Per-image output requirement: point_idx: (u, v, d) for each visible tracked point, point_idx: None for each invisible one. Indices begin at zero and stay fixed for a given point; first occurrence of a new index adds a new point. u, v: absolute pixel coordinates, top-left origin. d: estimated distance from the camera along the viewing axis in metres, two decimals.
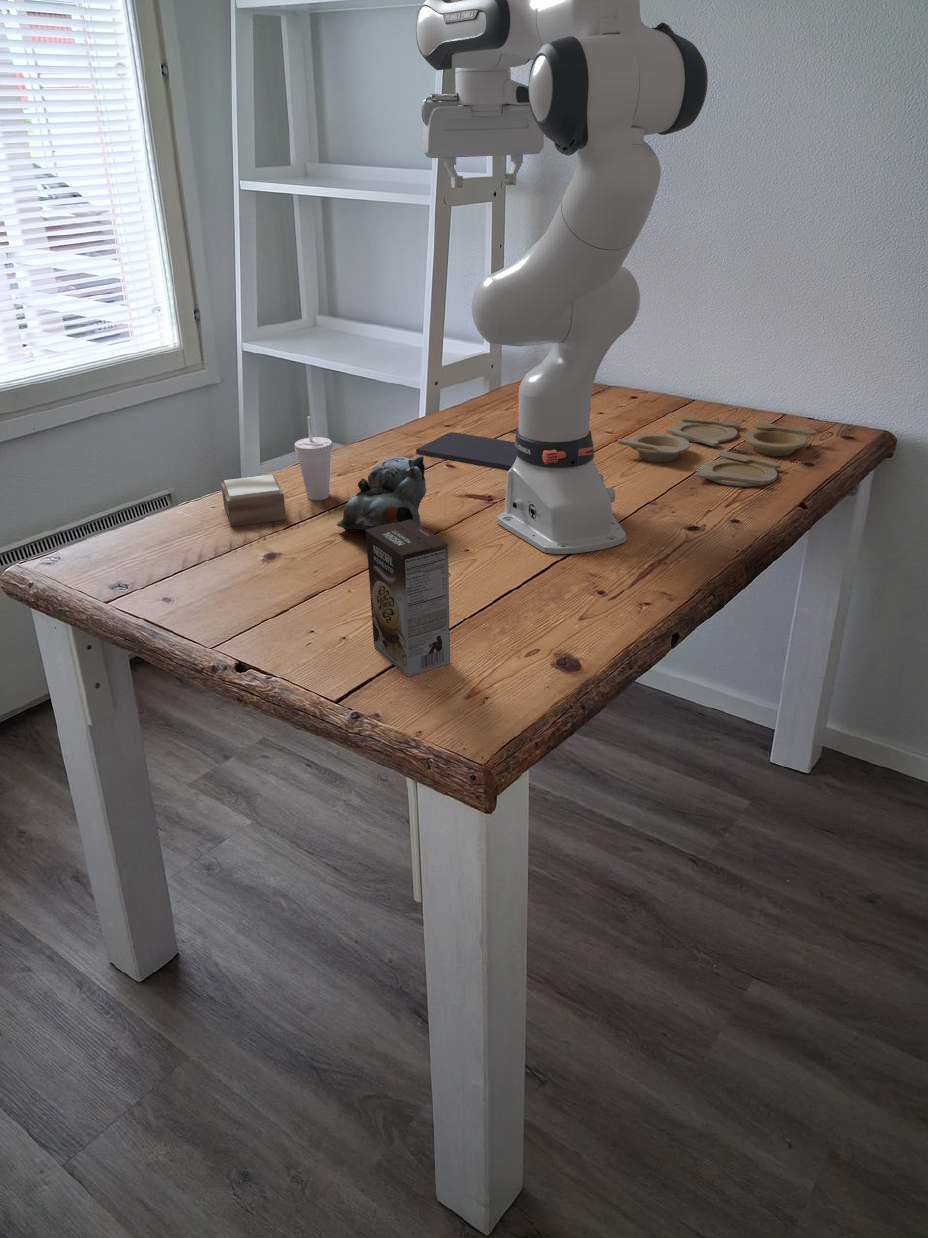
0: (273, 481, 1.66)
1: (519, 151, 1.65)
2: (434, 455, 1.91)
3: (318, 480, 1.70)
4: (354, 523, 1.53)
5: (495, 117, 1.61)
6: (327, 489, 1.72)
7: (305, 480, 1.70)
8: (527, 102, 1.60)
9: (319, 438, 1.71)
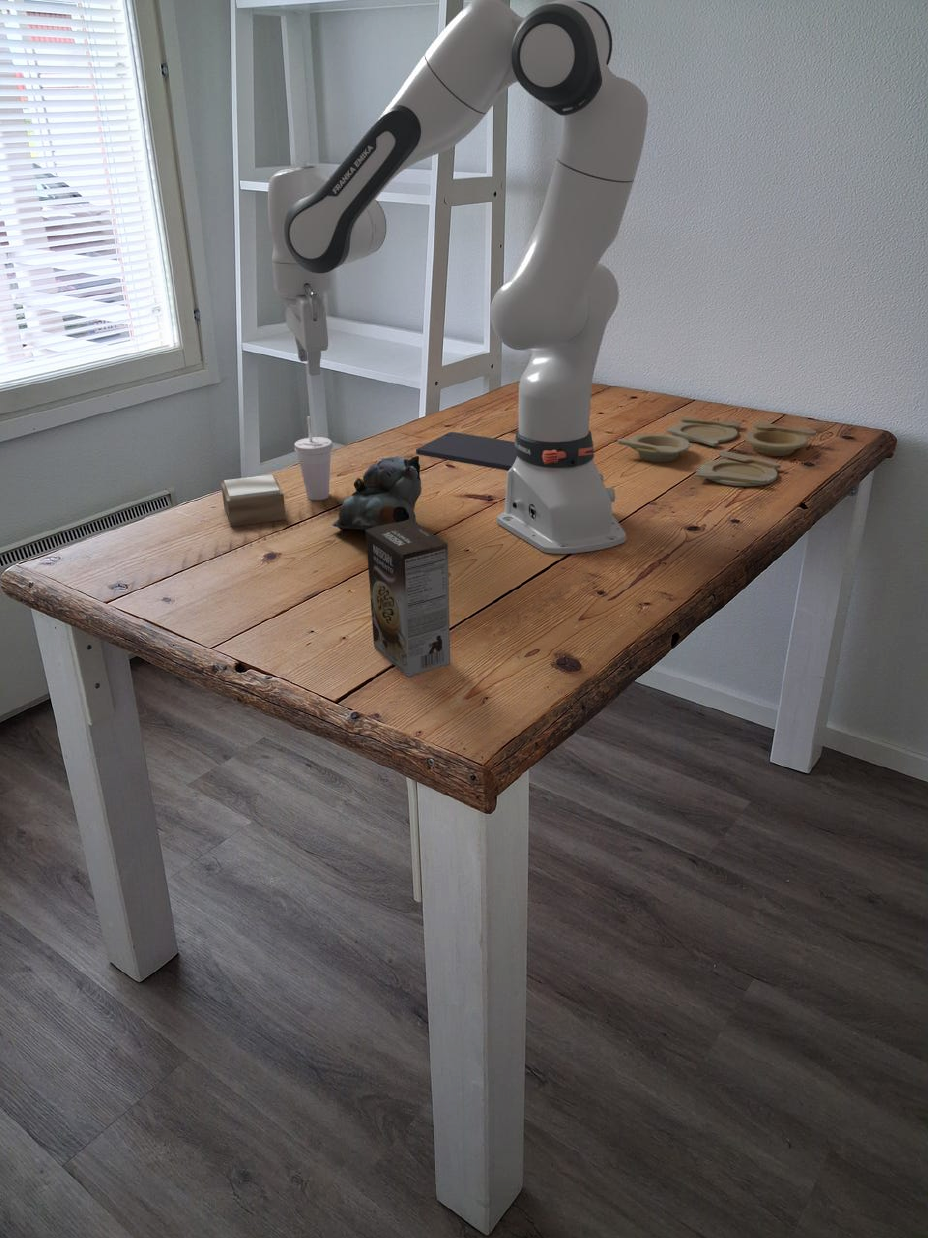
0: (273, 481, 1.66)
1: None
2: (434, 455, 1.91)
3: (318, 480, 1.70)
4: (350, 523, 1.53)
5: None
6: (327, 489, 1.72)
7: (305, 480, 1.70)
8: None
9: (319, 438, 1.71)
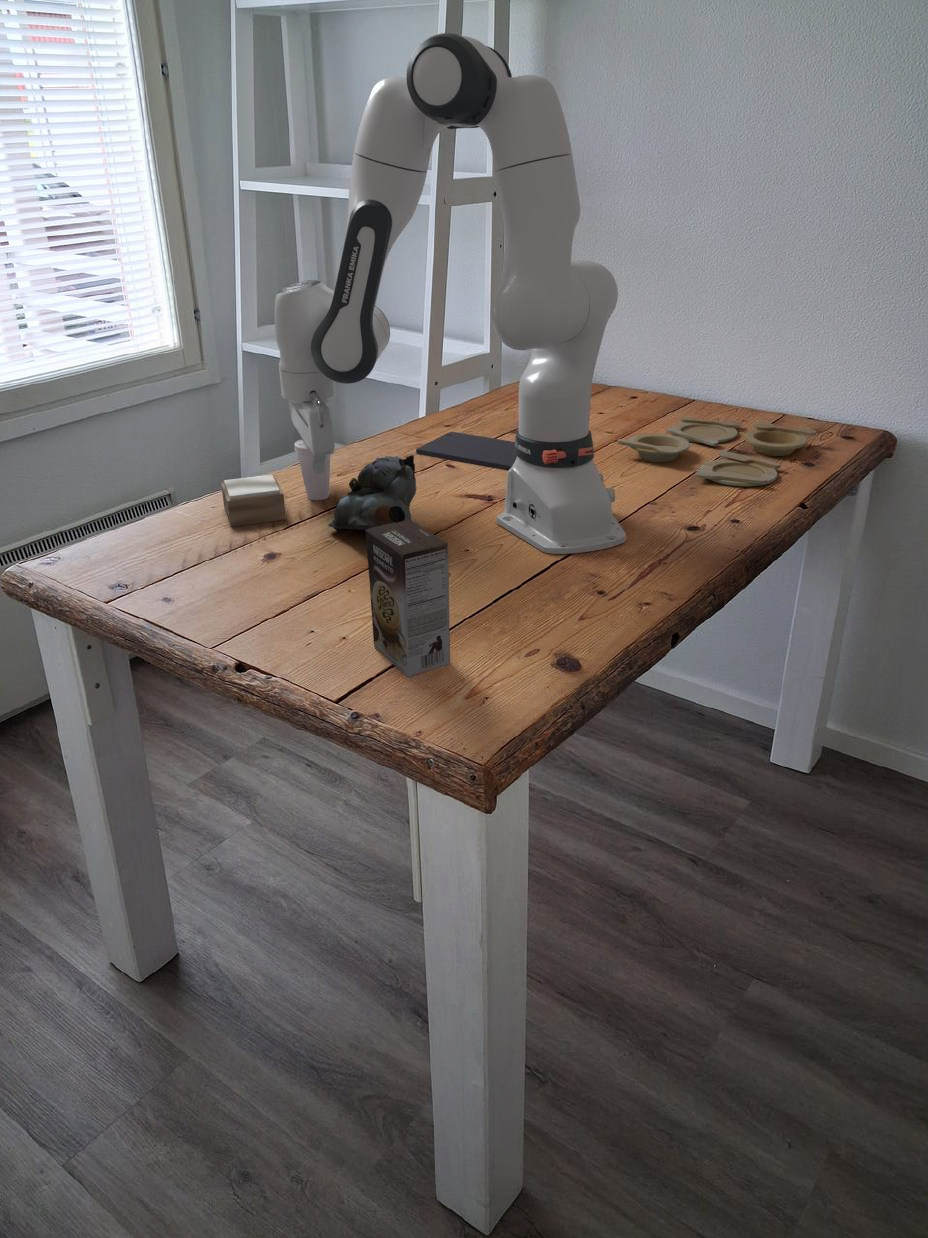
0: (273, 481, 1.66)
1: None
2: (434, 455, 1.91)
3: (318, 480, 1.70)
4: (346, 523, 1.53)
5: None
6: (327, 489, 1.72)
7: (305, 480, 1.70)
8: None
9: None
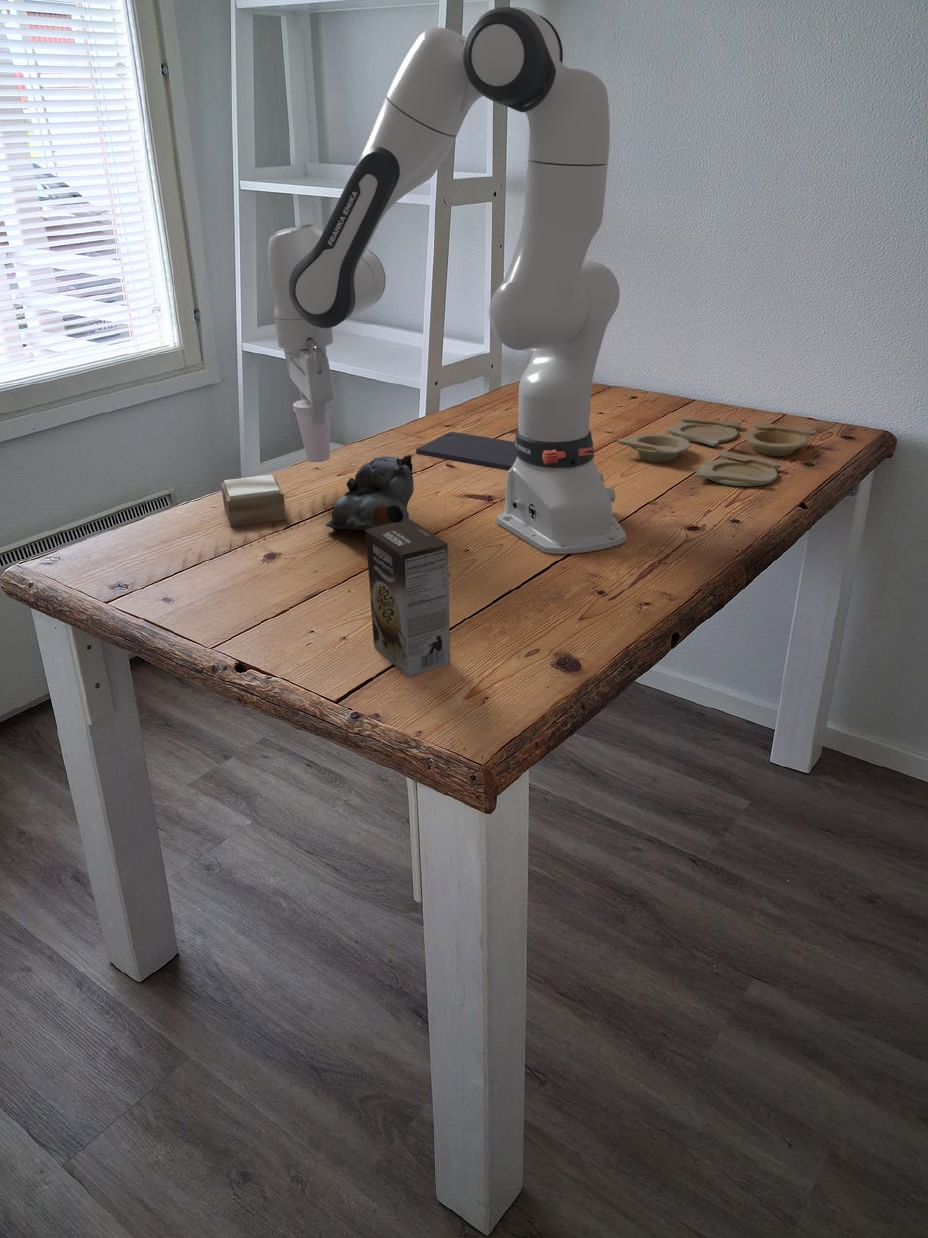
0: (273, 481, 1.66)
1: None
2: (434, 455, 1.91)
3: (317, 441, 1.66)
4: (344, 523, 1.53)
5: None
6: (327, 451, 1.68)
7: (304, 441, 1.67)
8: None
9: None
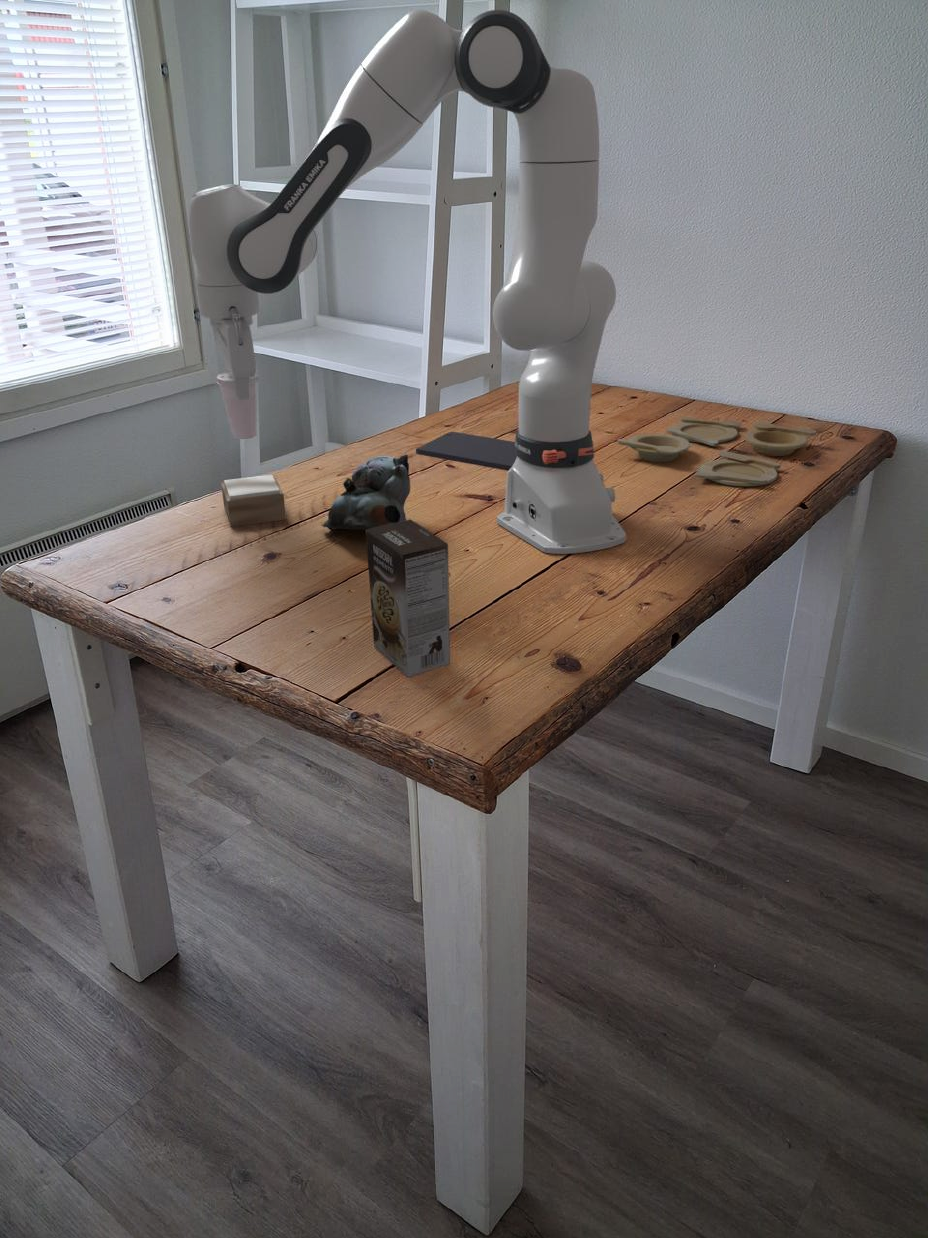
0: (273, 481, 1.66)
1: None
2: (434, 455, 1.91)
3: (242, 417, 1.57)
4: (342, 523, 1.53)
5: None
6: (253, 427, 1.59)
7: (229, 416, 1.58)
8: None
9: None
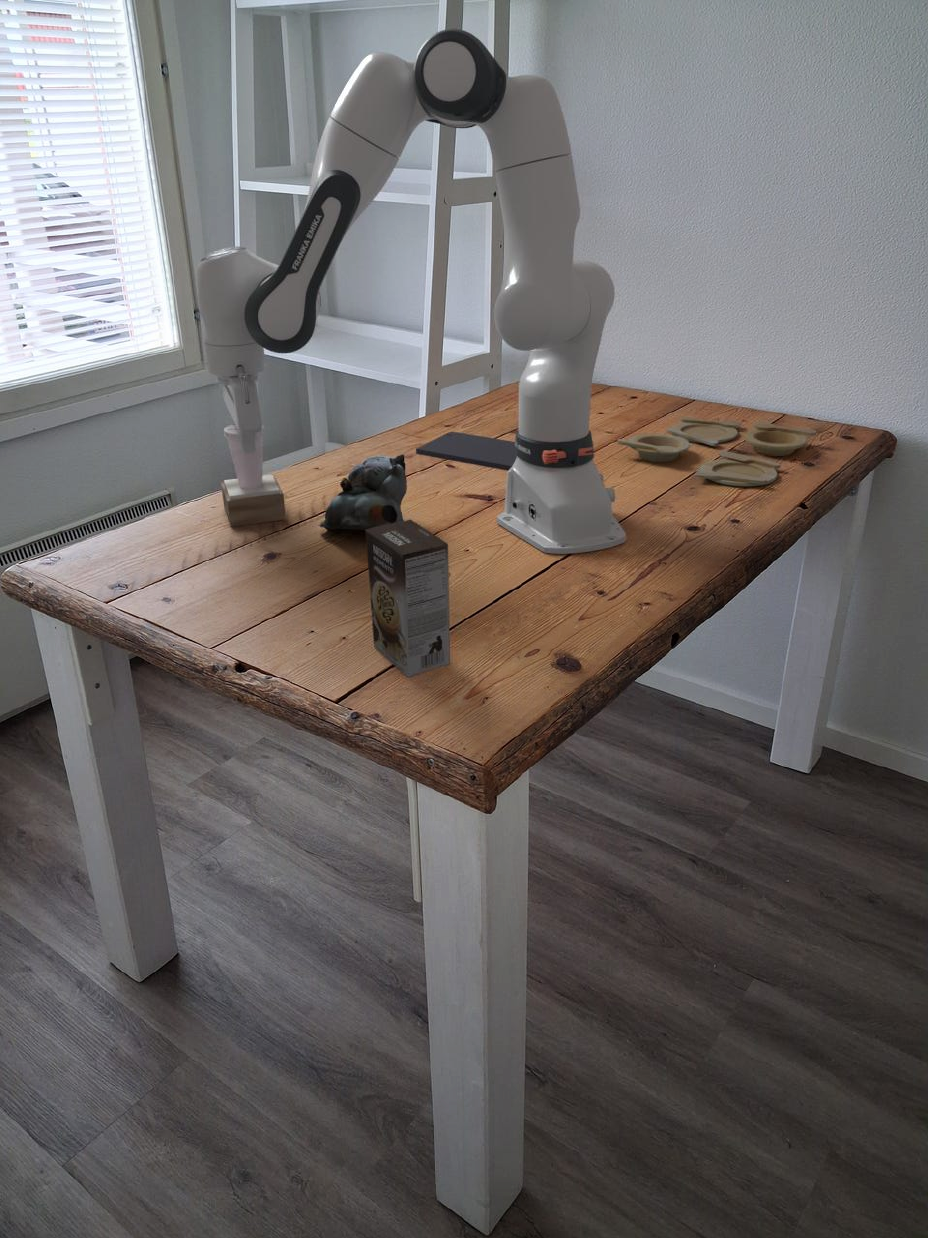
0: (273, 481, 1.66)
1: None
2: (434, 455, 1.91)
3: (249, 468, 1.61)
4: (339, 523, 1.53)
5: None
6: (259, 477, 1.63)
7: (235, 467, 1.62)
8: None
9: None
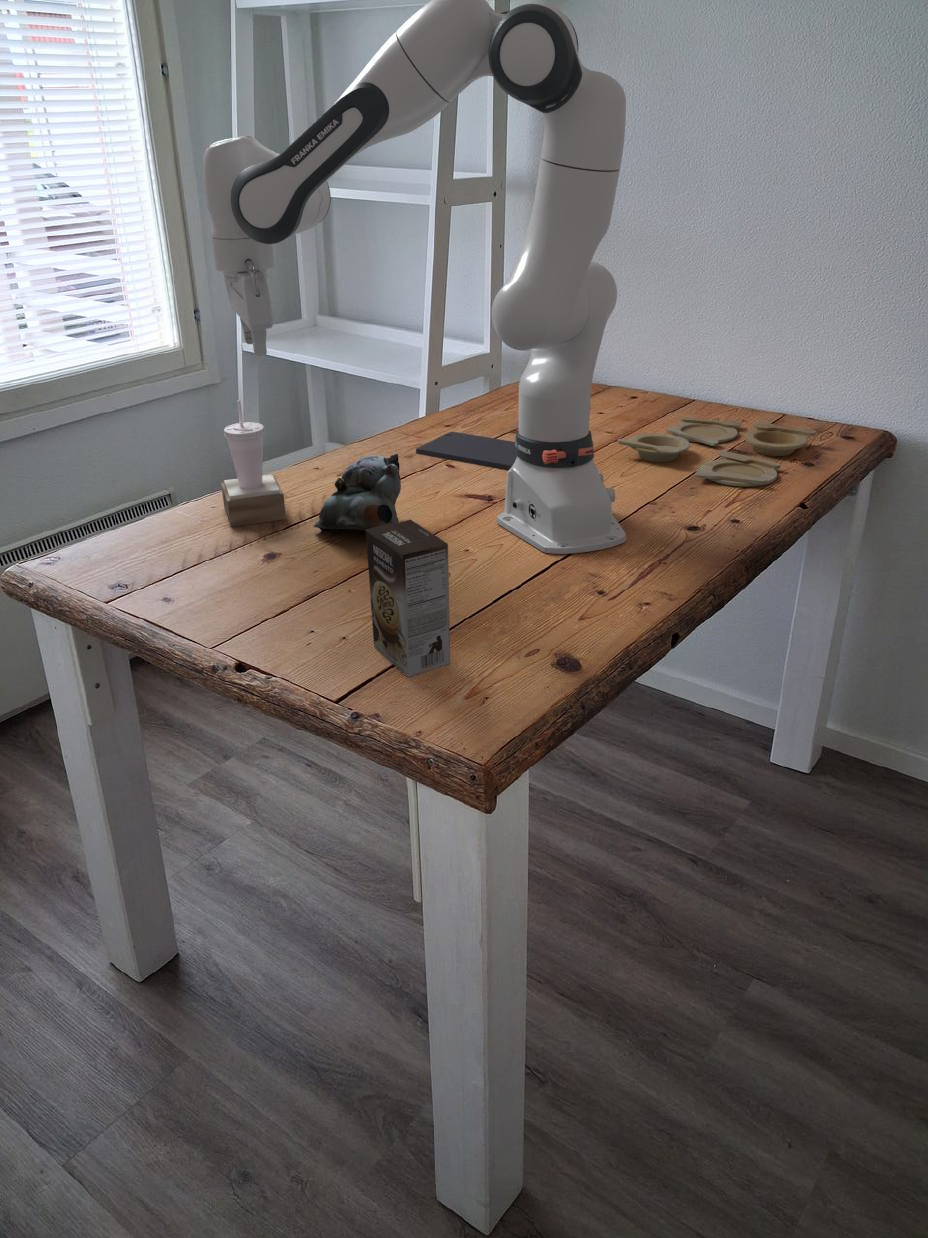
0: (273, 481, 1.66)
1: None
2: (434, 455, 1.91)
3: (249, 468, 1.61)
4: (334, 523, 1.53)
5: None
6: (259, 477, 1.63)
7: (235, 467, 1.62)
8: None
9: (252, 423, 1.62)
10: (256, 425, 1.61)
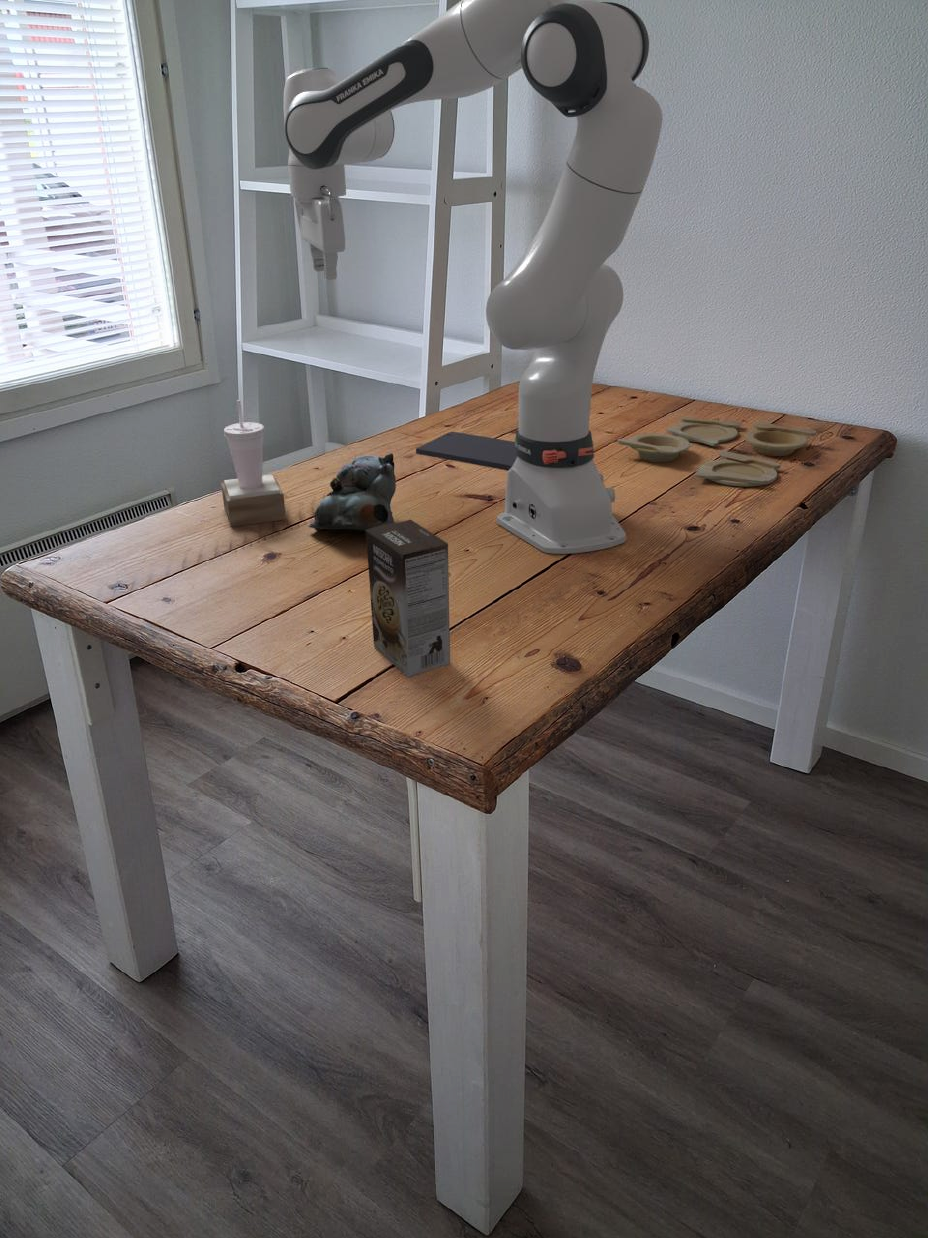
0: (273, 481, 1.66)
1: None
2: (434, 454, 1.91)
3: (249, 468, 1.61)
4: (330, 523, 1.53)
5: None
6: (259, 477, 1.63)
7: (235, 467, 1.62)
8: None
9: (252, 423, 1.62)
10: (256, 425, 1.61)
